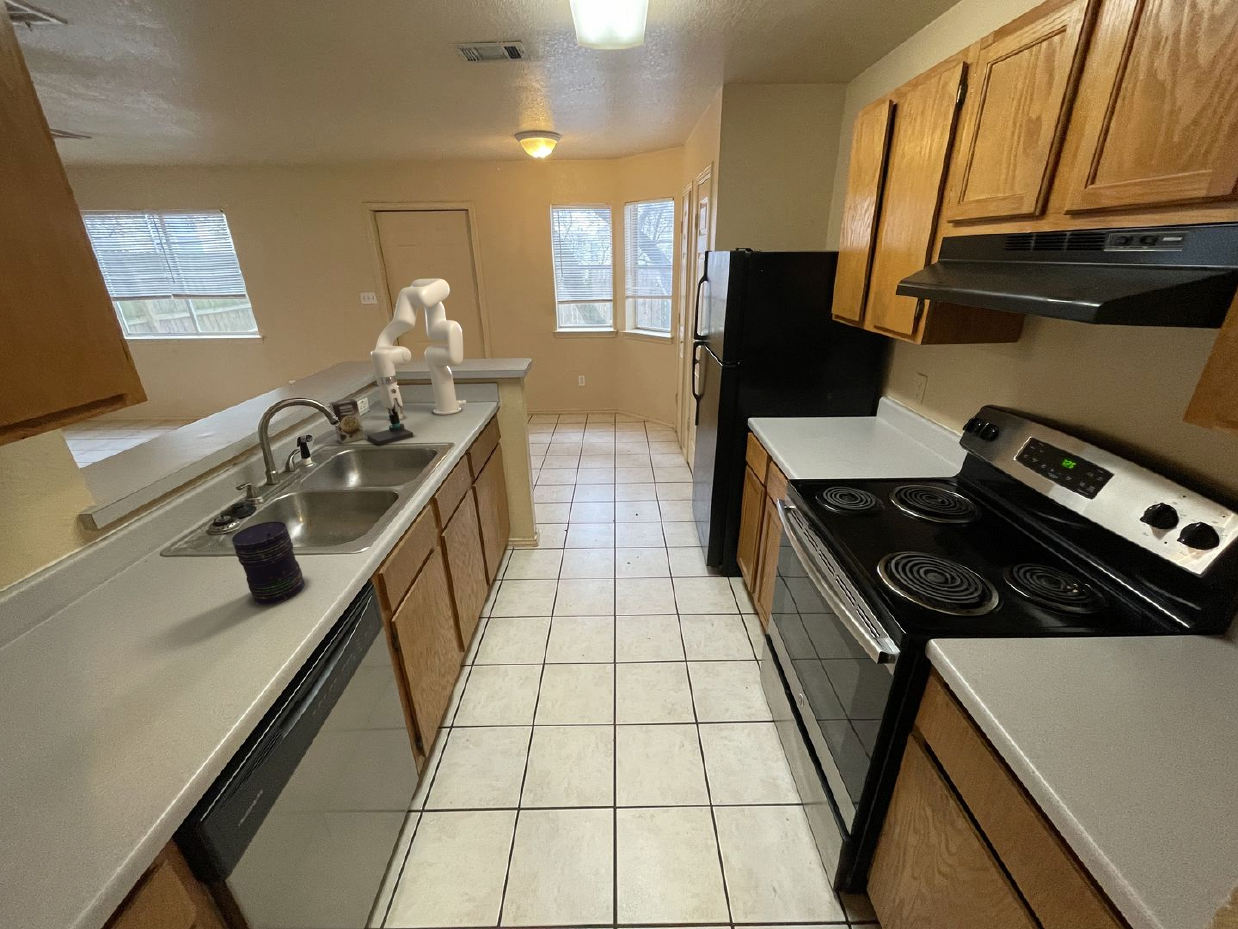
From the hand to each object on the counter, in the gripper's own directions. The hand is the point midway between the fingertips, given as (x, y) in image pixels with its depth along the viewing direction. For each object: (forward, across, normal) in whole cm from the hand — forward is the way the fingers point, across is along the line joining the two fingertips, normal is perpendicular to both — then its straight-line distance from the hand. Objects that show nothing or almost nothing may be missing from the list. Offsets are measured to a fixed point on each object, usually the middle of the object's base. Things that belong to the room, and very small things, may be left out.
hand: (395, 423), depth 212 cm
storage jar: (+6, -90, +65) cm, 112 cm away
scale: (+5, -3, +4) cm, 7 cm away
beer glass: (+4, +23, -10) cm, 25 cm away
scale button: (+2, 0, 0) cm, 2 cm away
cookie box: (+5, +8, +16) cm, 18 cm away
